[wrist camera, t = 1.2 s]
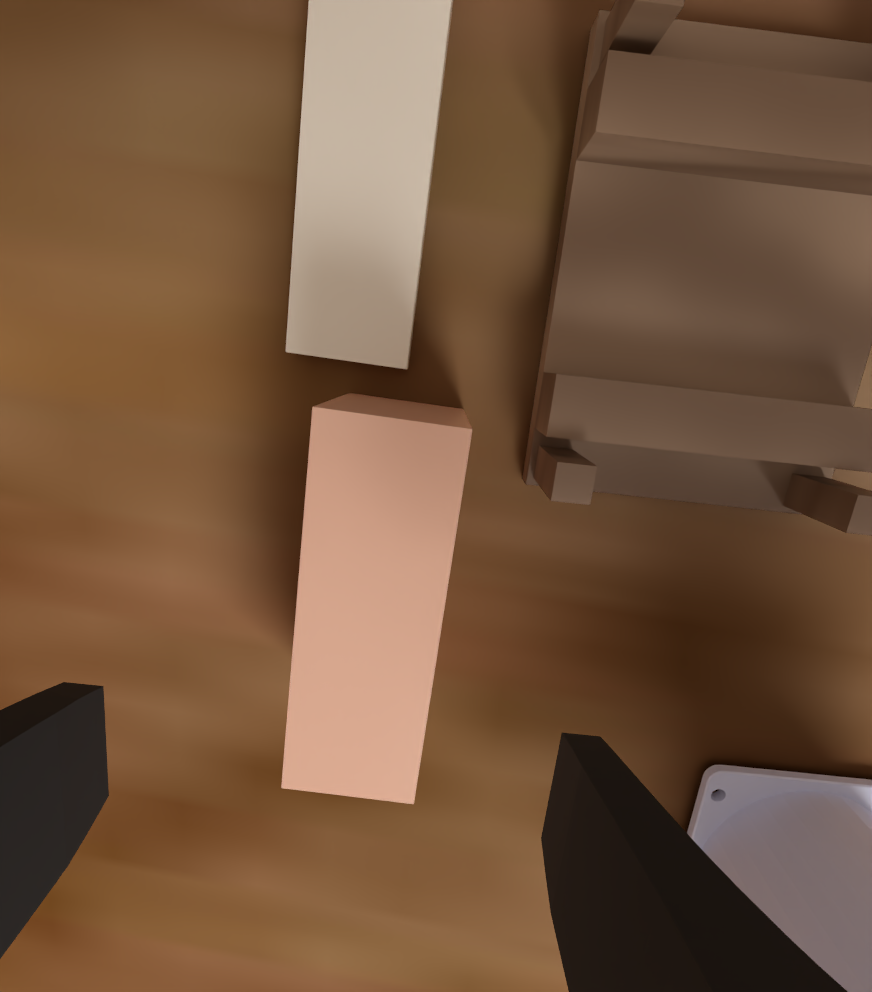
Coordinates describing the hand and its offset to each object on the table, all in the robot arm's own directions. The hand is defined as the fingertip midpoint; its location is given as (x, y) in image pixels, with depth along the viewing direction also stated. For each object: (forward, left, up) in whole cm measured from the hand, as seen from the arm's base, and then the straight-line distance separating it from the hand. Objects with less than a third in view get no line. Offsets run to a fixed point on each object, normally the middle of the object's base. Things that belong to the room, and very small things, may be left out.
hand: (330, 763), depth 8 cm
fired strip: (+11, +1, -10) cm, 15 cm away
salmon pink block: (0, 0, -10) cm, 10 cm away
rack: (+9, -9, -9) cm, 16 cm away
